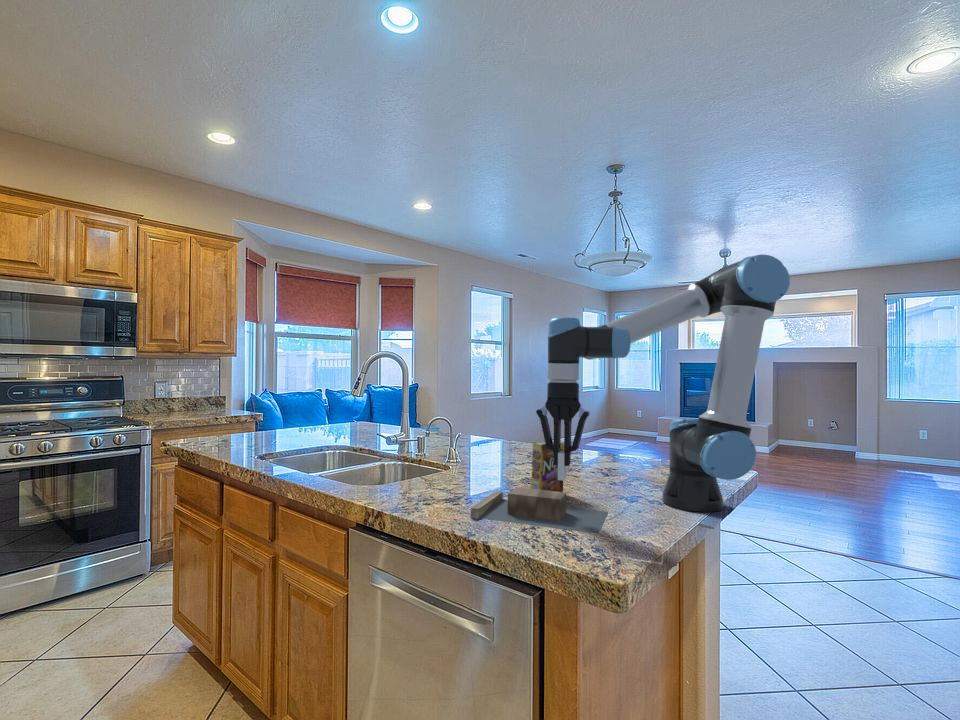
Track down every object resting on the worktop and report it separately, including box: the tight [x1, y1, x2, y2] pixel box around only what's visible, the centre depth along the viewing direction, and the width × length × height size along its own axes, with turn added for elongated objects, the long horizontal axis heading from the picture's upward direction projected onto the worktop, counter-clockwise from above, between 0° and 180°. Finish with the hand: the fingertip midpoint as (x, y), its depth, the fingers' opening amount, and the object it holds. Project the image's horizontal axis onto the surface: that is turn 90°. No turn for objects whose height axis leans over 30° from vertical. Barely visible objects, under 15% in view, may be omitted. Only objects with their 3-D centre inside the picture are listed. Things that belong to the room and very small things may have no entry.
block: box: [507, 486, 567, 521], centre depth 121 cm, size 5×7×13 cm
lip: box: [470, 490, 504, 520], centre depth 125 cm, size 2×18×2 cm, turn 159°
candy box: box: [530, 440, 564, 492], centre depth 139 cm, size 9×4×15 cm, turn 123°
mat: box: [477, 498, 609, 535], centre depth 120 cm, size 28×18×1 cm, turn 69°
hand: (561, 479), depth 118 cm, fingers closed
